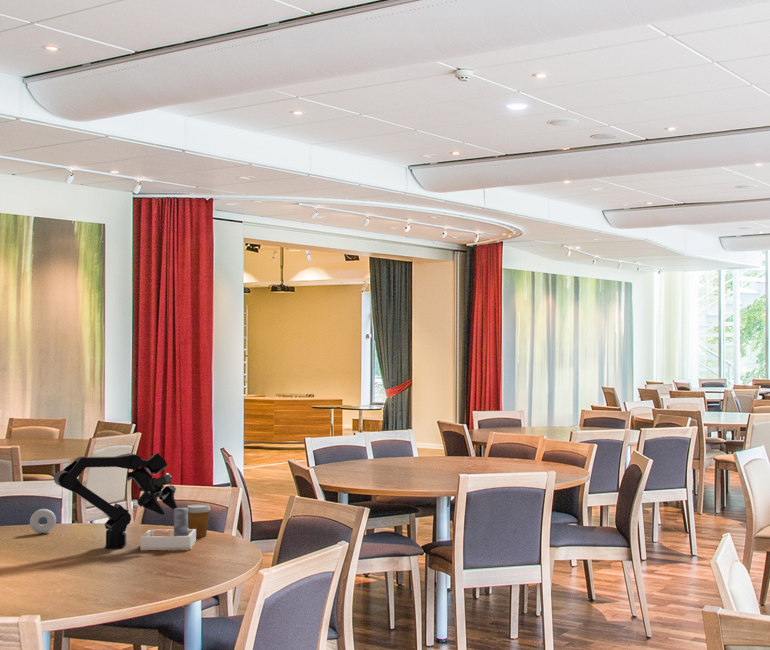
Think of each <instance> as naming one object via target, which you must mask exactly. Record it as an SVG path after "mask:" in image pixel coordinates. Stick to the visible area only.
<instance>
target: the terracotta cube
mask: <svg viewBox="0 0 770 650" xmlns="http://www.w3.org/2000/svg"><path fill="white" fill-rule="evenodd" d="M155 530H156V531H155V532H154V536H170V530H171V528H170V529H169V528H167V529H166V528H163V529H162V528H161V529H158V528H156V529H155Z"/></svg>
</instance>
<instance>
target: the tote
mask: <svg viewBox="0 0 770 650" xmlns="http://www.w3.org/2000/svg"><path fill="white" fill-rule="evenodd" d="M156 530H157V529H148V530H147V531H146V532H145V533H144V534H143V535H141V536H140V550H168V551H188V550H187V549H191V550H192V548H193V547H194V546H195V545H196V543H197V538H196V529H189V528H188V536H174V528H173V529H170V536H154V532H155V531H156ZM195 542H196V543H195ZM193 545H194V546H193ZM192 546H193V547H192Z"/></svg>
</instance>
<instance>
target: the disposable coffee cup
mask: <svg viewBox="0 0 770 650" xmlns="http://www.w3.org/2000/svg"><path fill="white" fill-rule="evenodd" d="M186 508H188V527H189V528H188V529H196V537H199V538H203V537H204V536H205V537H207V533H208V532H207V531H208V526H209V525H208V524H209V516H210V511H211V510H212V509H211V507H210V505H209V504H206V503H195V504H189V505H187V507H186ZM205 537H204V538H205Z"/></svg>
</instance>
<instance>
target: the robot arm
mask: <svg viewBox="0 0 770 650" xmlns="http://www.w3.org/2000/svg"><path fill="white" fill-rule="evenodd" d="M111 467H112V468H121V469H127V470H132V471H127V473H126V474H127V476H126V481H127V482H129V481H130V480H133V481H134V482H135V483H136V484H137V486H138V487H139V489H138V491H139V492H143V493H142V494H141V495H140V496H139V497H138V499H136V500H137V501H136V504H137V505H138V506H139V507H141V508H142V507H143V508H144V509H148V510H150V511H152V512H155V513H157V514H159V515H162V516H164V515H165V511H164V509H163V507H162V506H161V505H160V503H159V501H158V499H159V500H161V501H162V502H161V503H163V504H165V505H166V506H168V507H169V508H170V509H171V510H173V511H174V509H175V508H178V505H177V503H176V501H175V497H174V496H175V493H176V491H177V488H176V487H175V486H174V485H172V484H171V483H173V481H172V479H173V476H172V475H171V474H170V473H169V472H167V473H165V474H162V476H159V477H158V478H157V477H152V476H151V475H154V476H156V475H157V474H159V473H160V472H162V471H163V470H165V469H166V468H167V467H168V464H167V460H165V459H164V457H162V456H161V455H160V453H158V452H155V453H154V454H153V455H151V456H150V457H149V458H148V459H142V458H141V456H140V455H138V454H136V453H132V452H131V453H124V454H120V455H119V454H118V455H116V456H83V455H82V456H78V457H77V458H76V459H75V460H73V462H71V463H70V464H68V465H66V467H64V468H63V469H62V470H60V471H57V472H55V475H54V478H53V480H54V483H55V484H56V485H57V486H59V487H61V488H64V489H65V490H68V491H70V492H72V493H74V494H76V495H77V496H79V497H80V498H82V499H84V500H85V501H86V502H88V503H89V504H90V505H92V506H93V507H94V508H97V509H98V510H99V511H100V512H102V513H103V514H104V515H105V516H106V517H107V519H108V520H106V522H105V523H104V524H103V525H104V527H105V529H106V531H105V546H104V549H123V548H124V547H125V546H126V545H127V533H126V529H127V528H128V526H129V524H130V522H131V520H132V515H131V514H130V512H129V511H130V510H129V509H126V508H124V507H123V506H122V505H121V504H118V503H116V502H115V503H114V505H112V504H111V503H109V502H108V501H106V500H105V499H103V497H102V498H101V496H99V495H97V494H96V492H93V491H92V490H90V489H89V488H87V486H86V485H85V486H84V485H83V484H82V482H81V481H80V480H79V476H80V475H81V474H82V473H83V471H84V470H85V469H87V468H111ZM168 484H171V485H168ZM165 485H166V486H165Z"/></svg>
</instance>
